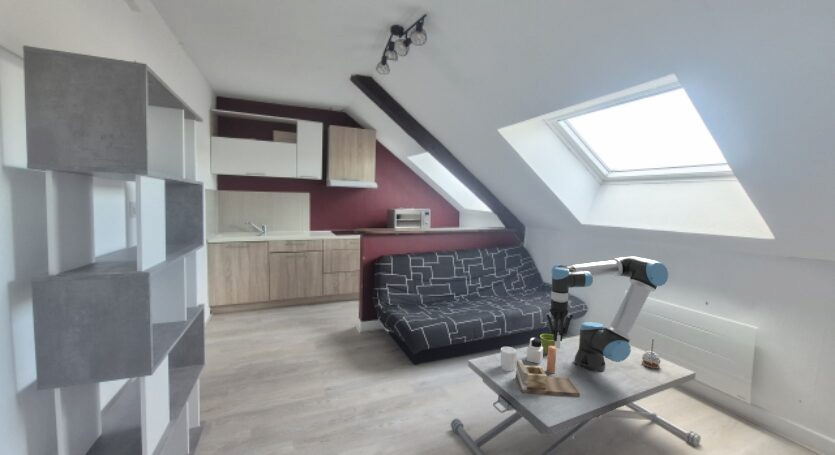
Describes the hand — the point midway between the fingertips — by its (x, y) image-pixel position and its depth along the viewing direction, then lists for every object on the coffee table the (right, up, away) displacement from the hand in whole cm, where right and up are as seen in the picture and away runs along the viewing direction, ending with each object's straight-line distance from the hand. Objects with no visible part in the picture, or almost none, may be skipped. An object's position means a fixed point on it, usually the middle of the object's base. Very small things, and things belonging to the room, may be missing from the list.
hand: (557, 347), depth 165 cm
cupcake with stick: (+60, -18, +22) cm, 66 cm away
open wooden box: (-12, -16, -2) cm, 20 cm away
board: (-6, -18, -3) cm, 19 cm away
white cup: (-20, -16, +14) cm, 30 cm away
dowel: (+2, -17, +12) cm, 21 cm away
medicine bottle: (-3, -16, +24) cm, 29 cm away
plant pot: (+9, -15, +35) cm, 39 cm away
